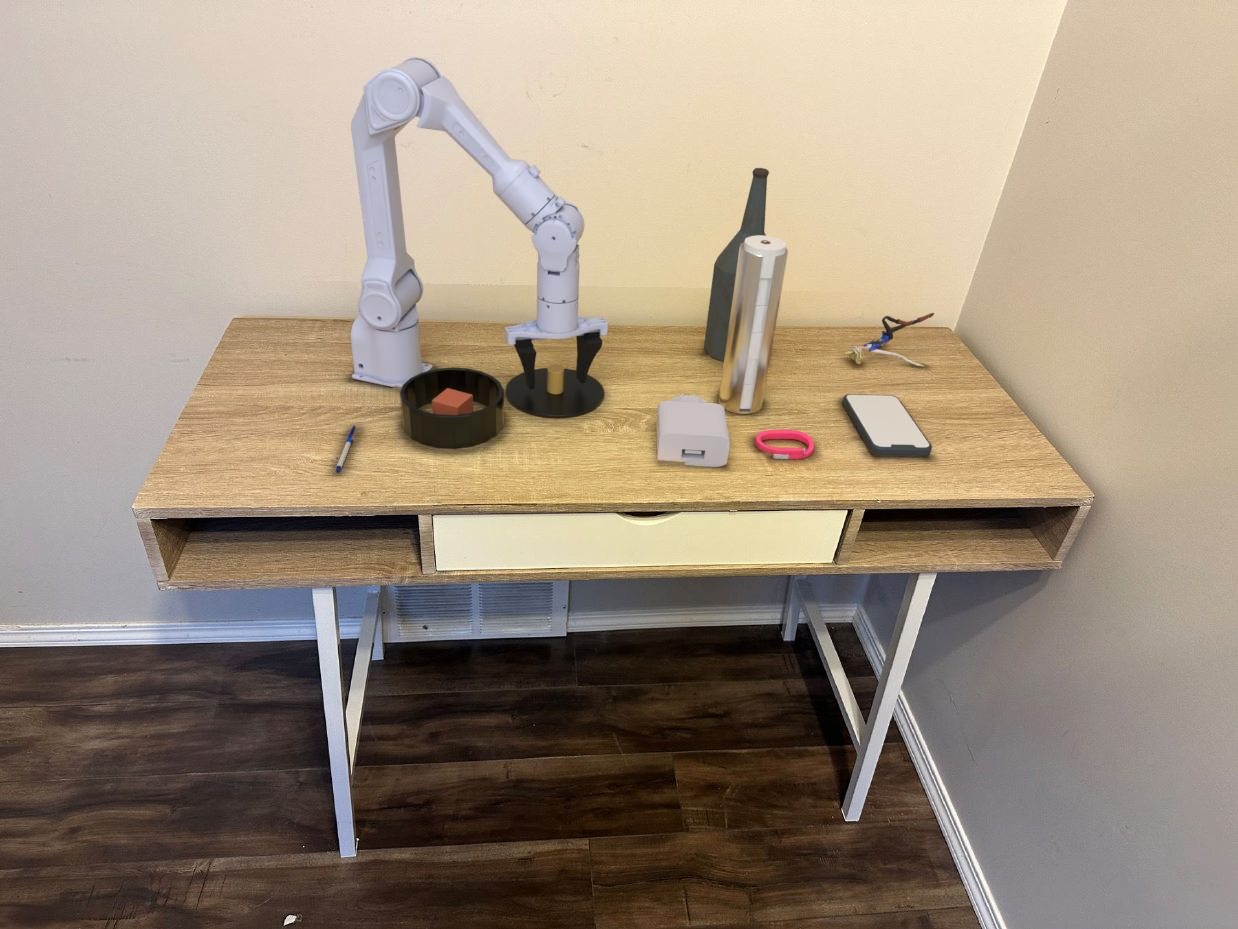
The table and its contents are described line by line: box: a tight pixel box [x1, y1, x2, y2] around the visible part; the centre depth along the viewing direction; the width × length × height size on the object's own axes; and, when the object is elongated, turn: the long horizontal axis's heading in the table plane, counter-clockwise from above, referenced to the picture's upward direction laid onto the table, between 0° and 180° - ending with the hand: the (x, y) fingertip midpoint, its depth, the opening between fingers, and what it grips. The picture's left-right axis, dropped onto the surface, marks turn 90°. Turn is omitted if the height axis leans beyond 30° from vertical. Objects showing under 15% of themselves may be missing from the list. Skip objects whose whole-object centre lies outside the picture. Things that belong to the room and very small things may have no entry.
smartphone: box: [842, 393, 933, 457], centre depth 130 cm, size 9×2×16 cm
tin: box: [399, 367, 505, 450], centre depth 123 cm, size 14×14×5 cm
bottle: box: [703, 167, 770, 363], centre depth 140 cm, size 10×10×30 cm
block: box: [431, 388, 474, 415], centre depth 123 cm, size 4×4×4 cm
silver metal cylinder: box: [718, 235, 789, 415], centre depth 127 cm, size 6×6×25 cm
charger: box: [655, 392, 731, 468], centre depth 124 cm, size 5×9×15 cm
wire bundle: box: [844, 312, 935, 368], centre depth 150 cm, size 10×9×20 cm
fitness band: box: [754, 429, 815, 460], centre depth 124 cm, size 8×6×2 cm
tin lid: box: [505, 364, 605, 419], centre depth 131 cm, size 14×14×5 cm
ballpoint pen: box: [335, 425, 356, 473], centre depth 117 cm, size 10×1×1 cm, turn 4°
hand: (555, 382), depth 131 cm, fingers open, 7 cm apart
